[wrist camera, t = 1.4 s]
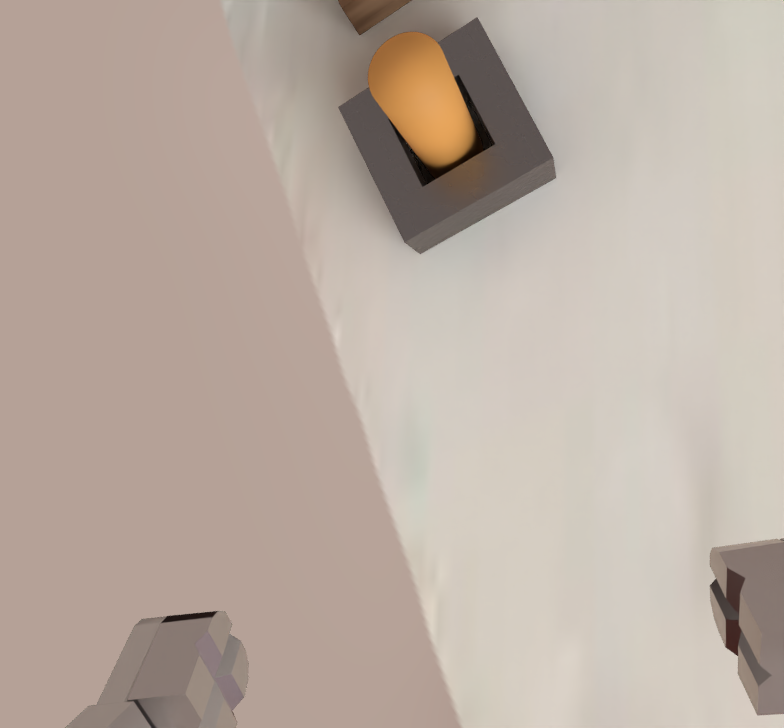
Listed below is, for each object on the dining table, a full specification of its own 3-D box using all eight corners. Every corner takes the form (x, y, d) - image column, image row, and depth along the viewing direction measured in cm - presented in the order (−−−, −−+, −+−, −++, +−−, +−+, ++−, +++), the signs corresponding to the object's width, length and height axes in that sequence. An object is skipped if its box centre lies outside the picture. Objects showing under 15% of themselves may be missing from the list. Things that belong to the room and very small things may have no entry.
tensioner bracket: (486, 49, 43) (477, 17, 39) (556, 177, 42) (553, 157, 38) (358, 129, 45) (338, 107, 42) (420, 253, 44) (404, 242, 40)
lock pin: (466, 111, 43) (424, 15, 32) (493, 162, 43) (460, 83, 31) (414, 143, 44) (355, 61, 33) (439, 193, 44) (388, 128, 32)
